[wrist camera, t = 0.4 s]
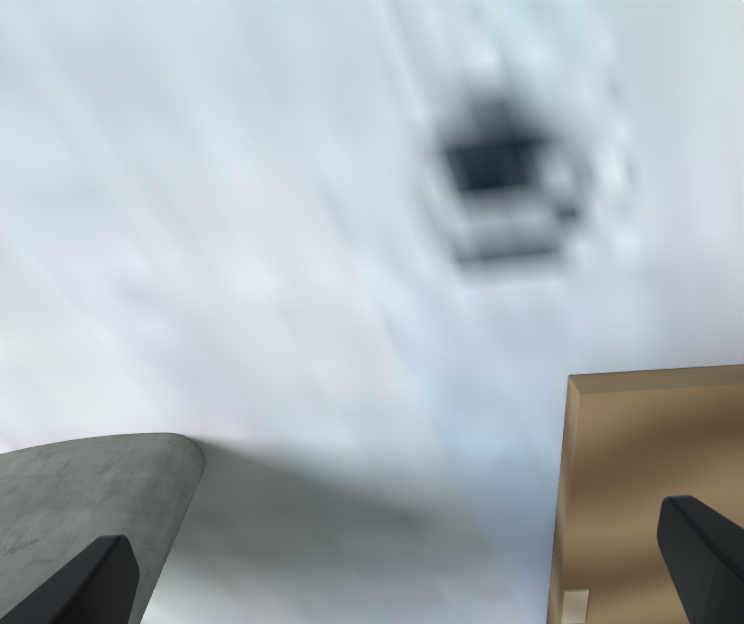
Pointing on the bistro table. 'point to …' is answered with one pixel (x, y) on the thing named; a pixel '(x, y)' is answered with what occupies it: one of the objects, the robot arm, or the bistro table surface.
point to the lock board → (639, 485)
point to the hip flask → (92, 506)
